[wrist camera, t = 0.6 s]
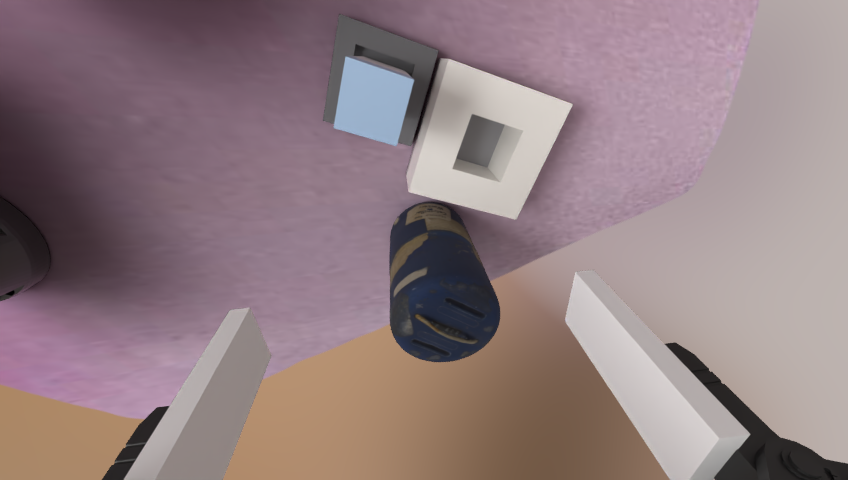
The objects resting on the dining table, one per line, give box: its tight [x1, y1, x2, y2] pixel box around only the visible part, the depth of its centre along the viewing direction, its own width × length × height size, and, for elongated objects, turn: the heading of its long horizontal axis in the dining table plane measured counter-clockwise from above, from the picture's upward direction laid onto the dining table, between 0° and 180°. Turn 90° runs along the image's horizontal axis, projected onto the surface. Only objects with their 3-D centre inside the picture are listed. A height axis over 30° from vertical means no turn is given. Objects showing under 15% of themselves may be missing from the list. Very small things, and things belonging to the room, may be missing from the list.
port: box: [406, 58, 573, 220], centre depth 33 cm, size 12×12×6 cm
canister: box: [390, 202, 500, 362], centre depth 33 cm, size 10×10×18 cm
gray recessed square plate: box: [323, 14, 439, 146], centre depth 31 cm, size 9×9×2 cm
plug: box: [334, 56, 414, 146], centre depth 25 cm, size 4×4×14 cm
